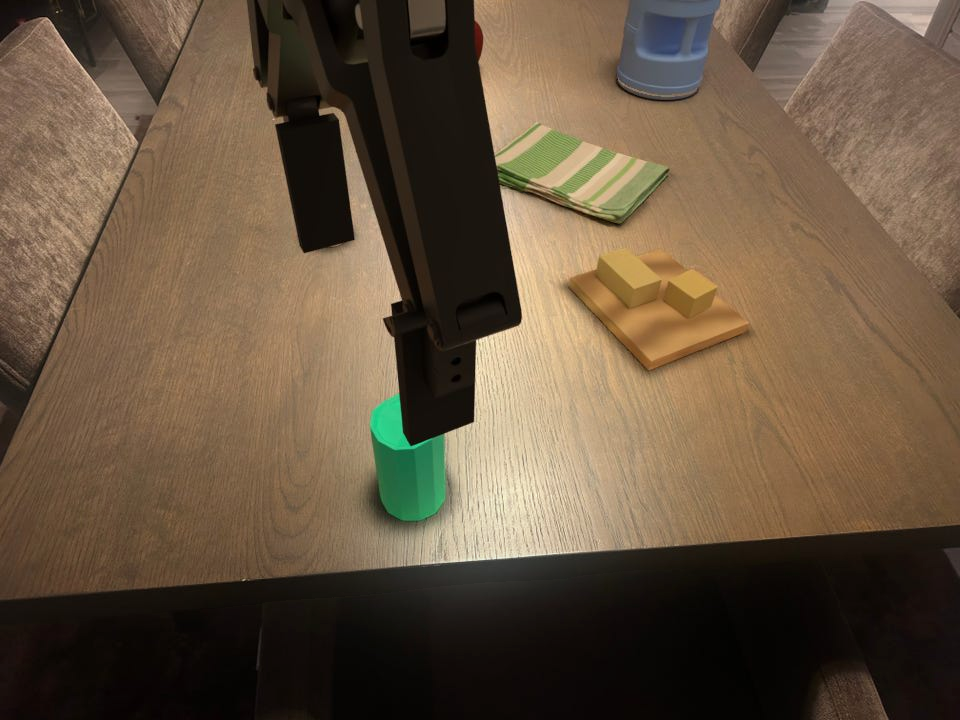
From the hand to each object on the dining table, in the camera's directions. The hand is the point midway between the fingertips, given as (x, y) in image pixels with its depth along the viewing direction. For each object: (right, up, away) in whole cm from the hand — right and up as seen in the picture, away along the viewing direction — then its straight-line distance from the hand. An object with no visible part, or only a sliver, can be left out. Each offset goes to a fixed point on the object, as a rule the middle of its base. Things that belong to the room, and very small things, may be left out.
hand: (375, 323), depth 30 cm
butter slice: (+29, +5, +49) cm, 57 cm away
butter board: (+26, +4, +50) cm, 56 cm away
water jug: (+38, +50, +96) cm, 115 cm away
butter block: (+22, +7, +50) cm, 56 cm away
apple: (0, +53, +98) cm, 111 cm away
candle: (-1, -14, +31) cm, 34 cm away
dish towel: (+19, +26, +71) cm, 78 cm away
